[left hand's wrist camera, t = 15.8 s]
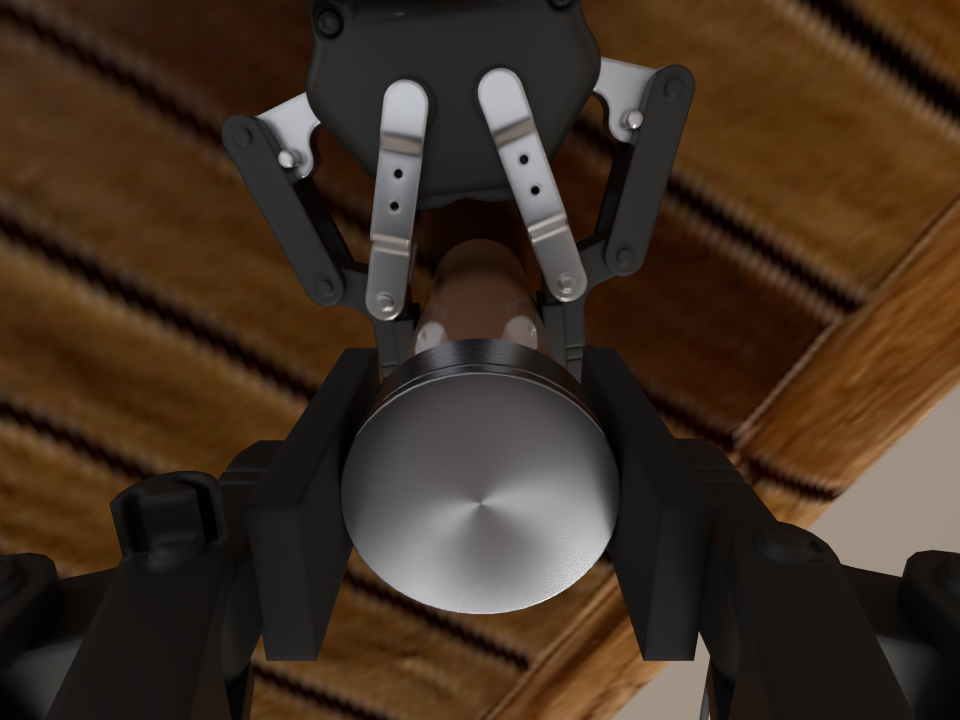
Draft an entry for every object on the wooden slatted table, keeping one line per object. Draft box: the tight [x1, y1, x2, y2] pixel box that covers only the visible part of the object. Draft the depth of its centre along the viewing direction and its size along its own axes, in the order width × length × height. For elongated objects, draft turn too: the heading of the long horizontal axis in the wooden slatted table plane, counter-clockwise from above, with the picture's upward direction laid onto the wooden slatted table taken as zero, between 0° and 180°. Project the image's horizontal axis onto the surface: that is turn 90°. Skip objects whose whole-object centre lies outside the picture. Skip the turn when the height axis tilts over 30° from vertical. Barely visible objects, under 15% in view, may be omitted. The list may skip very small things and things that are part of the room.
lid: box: [339, 338, 621, 614], centre depth 11 cm, size 5×5×2 cm
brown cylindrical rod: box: [404, 239, 557, 362], centre depth 18 cm, size 4×4×16 cm
